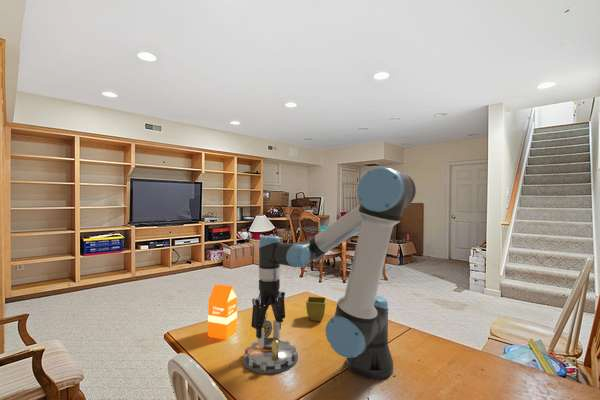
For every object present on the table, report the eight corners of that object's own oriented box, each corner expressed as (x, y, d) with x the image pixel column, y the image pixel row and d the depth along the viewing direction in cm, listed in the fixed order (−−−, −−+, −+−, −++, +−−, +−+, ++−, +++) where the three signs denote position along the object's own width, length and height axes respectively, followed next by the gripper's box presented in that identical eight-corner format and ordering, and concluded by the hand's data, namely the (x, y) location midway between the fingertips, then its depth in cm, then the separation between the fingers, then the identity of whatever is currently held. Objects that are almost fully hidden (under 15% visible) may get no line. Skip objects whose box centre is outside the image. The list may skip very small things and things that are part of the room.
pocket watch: (277, 350, 99) (277, 321, 99) (254, 347, 100) (254, 319, 100) (283, 339, 107) (283, 312, 107) (261, 337, 108) (261, 310, 108)
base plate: (309, 357, 100) (309, 356, 100) (266, 382, 86) (266, 380, 86) (273, 339, 113) (273, 338, 113) (231, 358, 99) (231, 356, 99)
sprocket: (287, 339, 111) (287, 320, 111) (304, 364, 94) (304, 340, 94) (240, 347, 105) (240, 326, 105) (249, 375, 88) (249, 350, 88)
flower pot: (307, 314, 139) (308, 296, 139) (325, 315, 138) (326, 297, 138) (305, 322, 130) (305, 302, 130) (325, 323, 129) (325, 303, 129)
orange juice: (226, 340, 112) (227, 288, 113) (207, 336, 115) (208, 286, 116) (237, 331, 120) (237, 283, 120) (219, 328, 123) (219, 281, 123)
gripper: (282, 272, 113) (281, 331, 113) (240, 281, 99) (239, 348, 99) (295, 275, 108) (295, 337, 108) (253, 286, 94) (253, 356, 94)
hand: (268, 342), depth 103 cm, fingers closed on pocket watch, 7 cm apart
